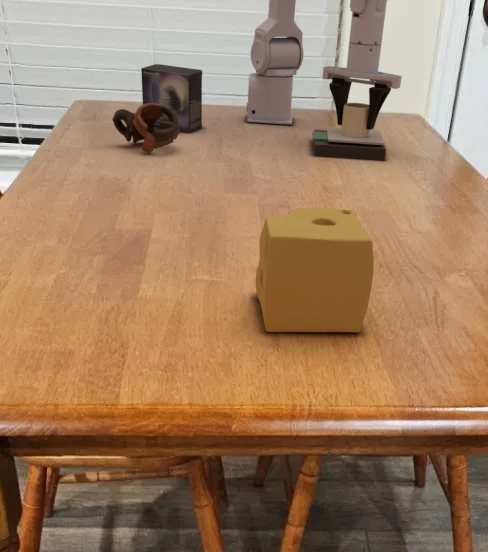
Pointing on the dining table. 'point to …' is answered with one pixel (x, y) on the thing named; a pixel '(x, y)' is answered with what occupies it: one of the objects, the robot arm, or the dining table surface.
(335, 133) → the scale
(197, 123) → the small box
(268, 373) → the dining table surface
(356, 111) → the small cup
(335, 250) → the cheese
